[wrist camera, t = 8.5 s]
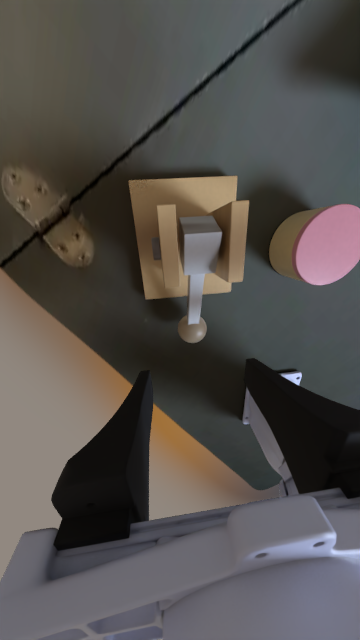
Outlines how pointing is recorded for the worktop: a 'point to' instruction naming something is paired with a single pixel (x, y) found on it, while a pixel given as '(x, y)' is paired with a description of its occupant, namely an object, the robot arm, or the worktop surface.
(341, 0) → the worktop surface
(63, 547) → the robot arm
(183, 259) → the lever with ball knob
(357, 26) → the worktop surface
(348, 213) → the cake
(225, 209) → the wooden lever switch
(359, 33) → the worktop surface
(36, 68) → the worktop surface
